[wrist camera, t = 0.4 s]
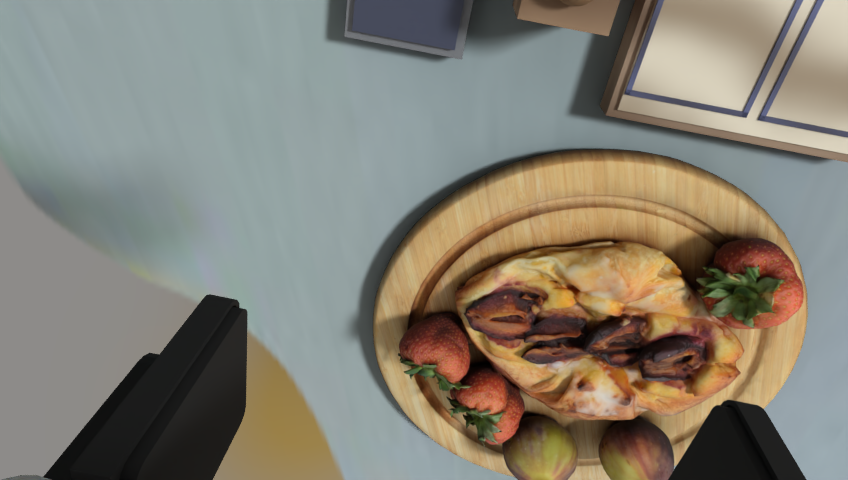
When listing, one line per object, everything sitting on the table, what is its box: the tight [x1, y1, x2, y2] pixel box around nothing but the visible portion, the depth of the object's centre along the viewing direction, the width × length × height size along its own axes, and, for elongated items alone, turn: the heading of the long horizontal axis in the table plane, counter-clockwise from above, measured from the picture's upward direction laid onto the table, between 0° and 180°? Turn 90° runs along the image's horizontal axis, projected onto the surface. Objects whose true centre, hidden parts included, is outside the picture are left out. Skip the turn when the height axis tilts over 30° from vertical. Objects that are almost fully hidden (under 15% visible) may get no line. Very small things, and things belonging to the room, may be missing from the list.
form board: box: [600, 0, 848, 162], centre depth 30 cm, size 10×16×2 cm, turn 81°
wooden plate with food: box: [373, 149, 808, 480], centre depth 40 cm, size 32×32×8 cm
